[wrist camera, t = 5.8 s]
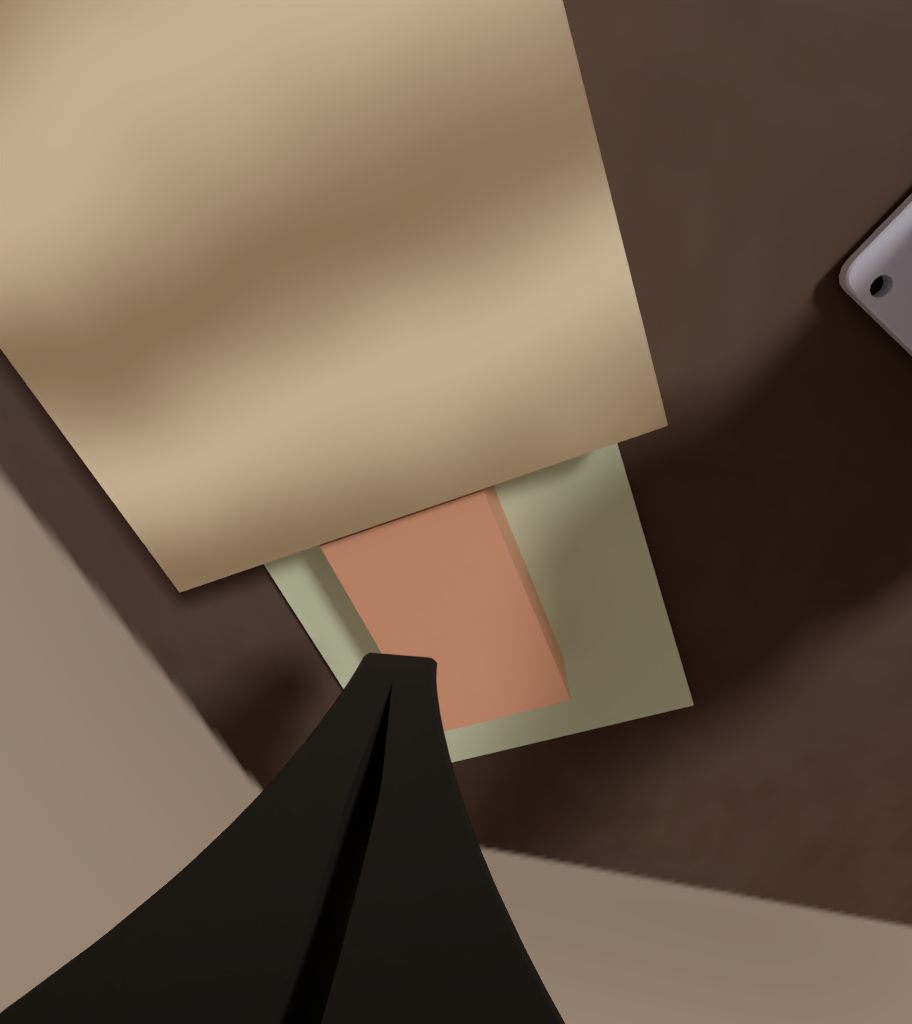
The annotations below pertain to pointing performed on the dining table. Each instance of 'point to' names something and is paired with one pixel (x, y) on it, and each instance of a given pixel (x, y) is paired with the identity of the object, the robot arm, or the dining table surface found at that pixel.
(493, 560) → the tile
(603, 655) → the mat
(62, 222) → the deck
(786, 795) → the dining table surface
